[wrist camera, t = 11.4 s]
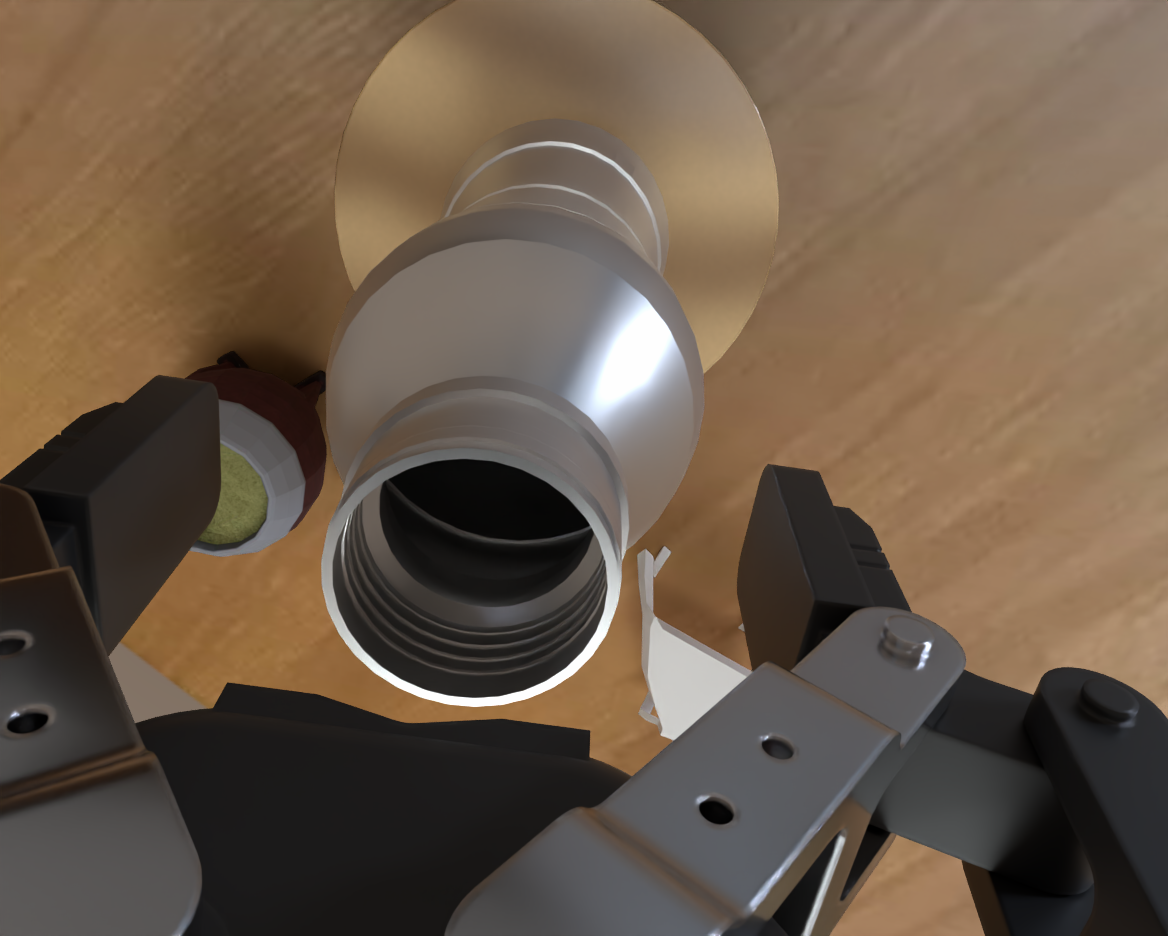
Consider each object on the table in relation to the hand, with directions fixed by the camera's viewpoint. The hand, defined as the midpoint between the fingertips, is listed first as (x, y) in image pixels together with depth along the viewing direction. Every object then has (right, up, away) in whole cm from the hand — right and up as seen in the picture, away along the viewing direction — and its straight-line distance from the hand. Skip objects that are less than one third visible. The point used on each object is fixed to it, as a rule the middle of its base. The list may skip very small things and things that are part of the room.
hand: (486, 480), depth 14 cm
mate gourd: (-13, +3, +28) cm, 31 cm away
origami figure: (+7, -7, +33) cm, 34 cm away
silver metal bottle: (+1, +8, +15) cm, 17 cm away
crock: (+1, +12, +23) cm, 26 cm away
